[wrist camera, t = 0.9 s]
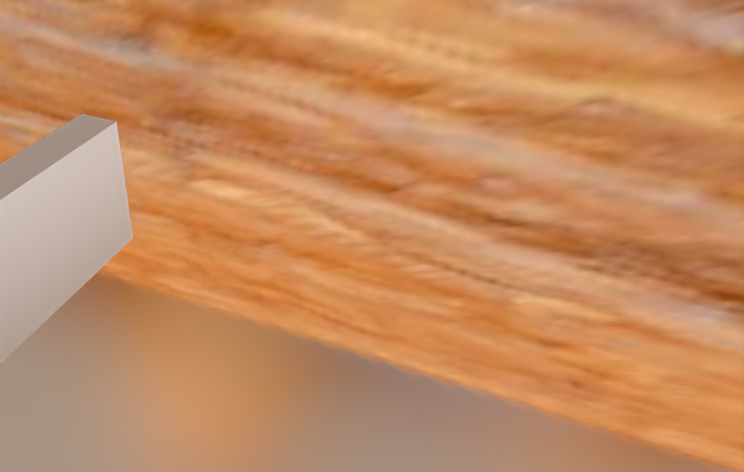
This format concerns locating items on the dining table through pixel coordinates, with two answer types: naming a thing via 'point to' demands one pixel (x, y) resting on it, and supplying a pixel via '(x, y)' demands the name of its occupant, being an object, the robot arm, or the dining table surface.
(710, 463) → the dining table surface
